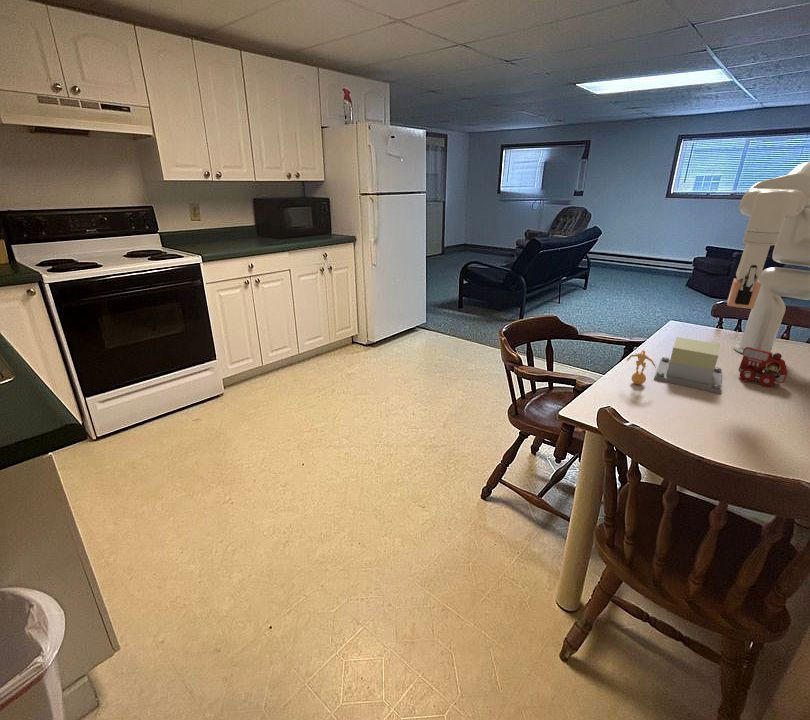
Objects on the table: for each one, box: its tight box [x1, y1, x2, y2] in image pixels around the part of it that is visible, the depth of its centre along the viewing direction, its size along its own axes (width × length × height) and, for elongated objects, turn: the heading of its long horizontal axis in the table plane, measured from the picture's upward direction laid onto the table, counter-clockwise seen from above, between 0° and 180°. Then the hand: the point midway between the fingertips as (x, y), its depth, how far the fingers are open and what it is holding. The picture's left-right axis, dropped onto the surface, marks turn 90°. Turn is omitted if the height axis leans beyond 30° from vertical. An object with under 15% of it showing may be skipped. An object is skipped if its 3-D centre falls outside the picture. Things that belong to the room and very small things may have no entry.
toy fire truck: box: [738, 347, 789, 388], centre depth 140 cm, size 7×12×10 cm, turn 42°
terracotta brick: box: [726, 277, 761, 309], centre depth 127 cm, size 6×6×7 cm
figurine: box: [626, 349, 657, 386], centre depth 136 cm, size 8×6×12 cm
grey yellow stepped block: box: [653, 336, 723, 395], centre depth 142 cm, size 18×18×11 cm
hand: (740, 301), depth 128 cm, fingers closed on terracotta brick, 6 cm apart
